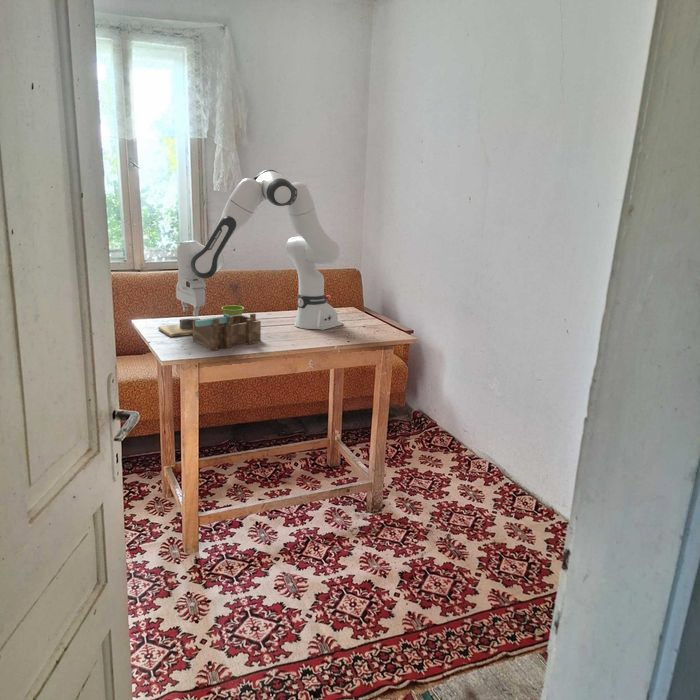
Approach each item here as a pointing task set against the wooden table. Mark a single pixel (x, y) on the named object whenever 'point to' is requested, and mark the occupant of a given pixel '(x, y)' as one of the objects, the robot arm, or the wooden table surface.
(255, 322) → the wooden crate
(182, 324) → the lid
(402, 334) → the wooden table surface
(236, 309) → the plant pot
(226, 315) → the bar
